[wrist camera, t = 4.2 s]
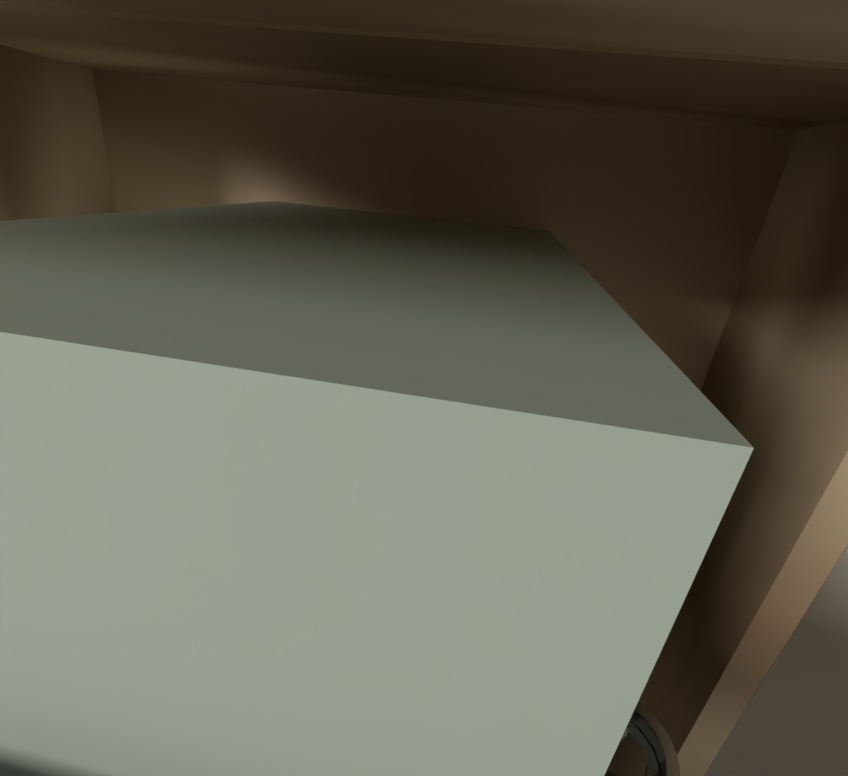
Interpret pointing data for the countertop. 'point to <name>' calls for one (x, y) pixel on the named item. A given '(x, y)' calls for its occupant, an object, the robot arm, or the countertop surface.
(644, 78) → the wooden crate
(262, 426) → the capped box
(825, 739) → the countertop surface
